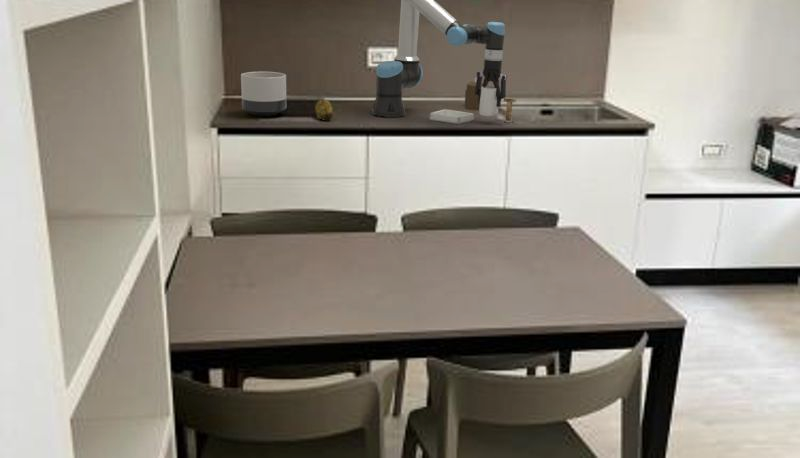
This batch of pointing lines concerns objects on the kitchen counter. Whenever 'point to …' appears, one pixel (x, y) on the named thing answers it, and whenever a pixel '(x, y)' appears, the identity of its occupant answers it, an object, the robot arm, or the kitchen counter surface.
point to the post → (509, 108)
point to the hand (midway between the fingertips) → (488, 112)
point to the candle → (471, 96)
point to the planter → (263, 92)
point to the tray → (451, 116)
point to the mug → (487, 100)
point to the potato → (324, 109)
